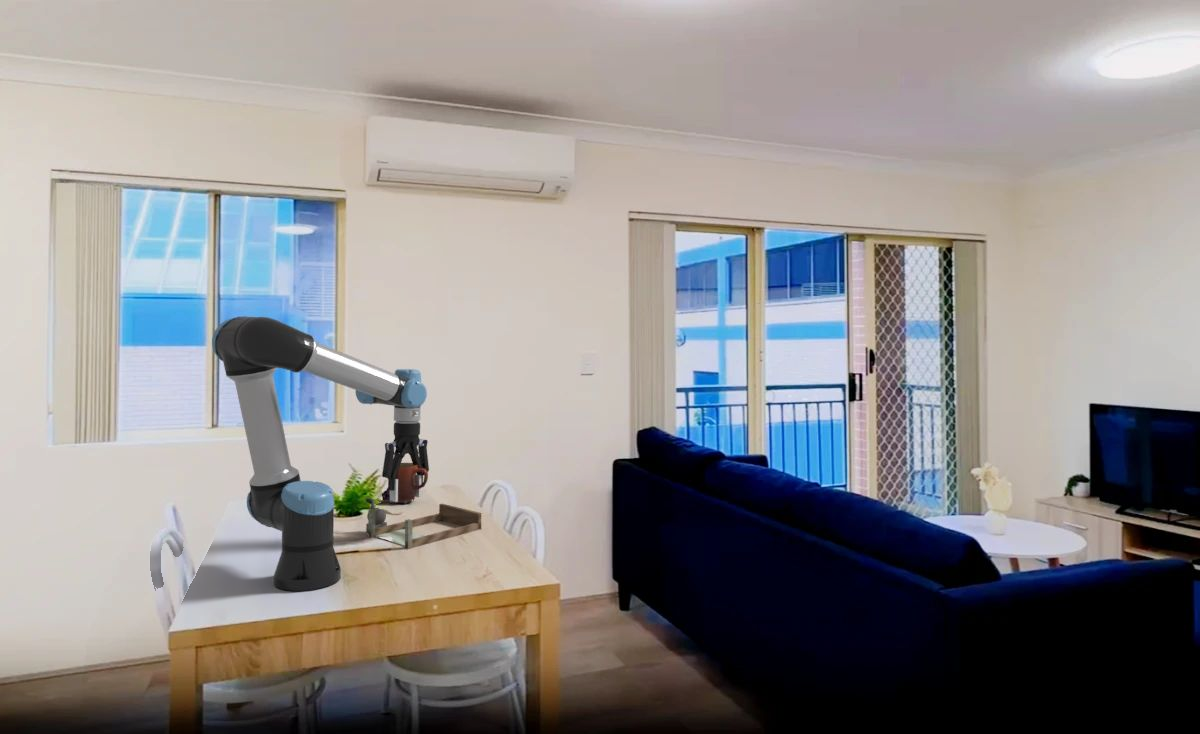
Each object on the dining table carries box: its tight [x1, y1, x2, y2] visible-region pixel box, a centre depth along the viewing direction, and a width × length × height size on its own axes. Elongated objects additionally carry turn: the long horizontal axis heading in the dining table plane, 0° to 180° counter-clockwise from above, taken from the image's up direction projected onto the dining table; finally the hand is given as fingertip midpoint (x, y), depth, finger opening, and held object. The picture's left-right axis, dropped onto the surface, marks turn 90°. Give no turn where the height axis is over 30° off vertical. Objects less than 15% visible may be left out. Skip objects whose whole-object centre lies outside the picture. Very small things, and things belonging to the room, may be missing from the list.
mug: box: [389, 462, 429, 503], centre depth 214 cm, size 12×9×10 cm
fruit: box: [381, 487, 415, 505], centre depth 258 cm, size 10×11×15 cm
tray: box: [365, 497, 482, 550], centre depth 222 cm, size 28×25×10 cm
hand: (405, 498), depth 214 cm, fingers closed on mug, 8 cm apart
